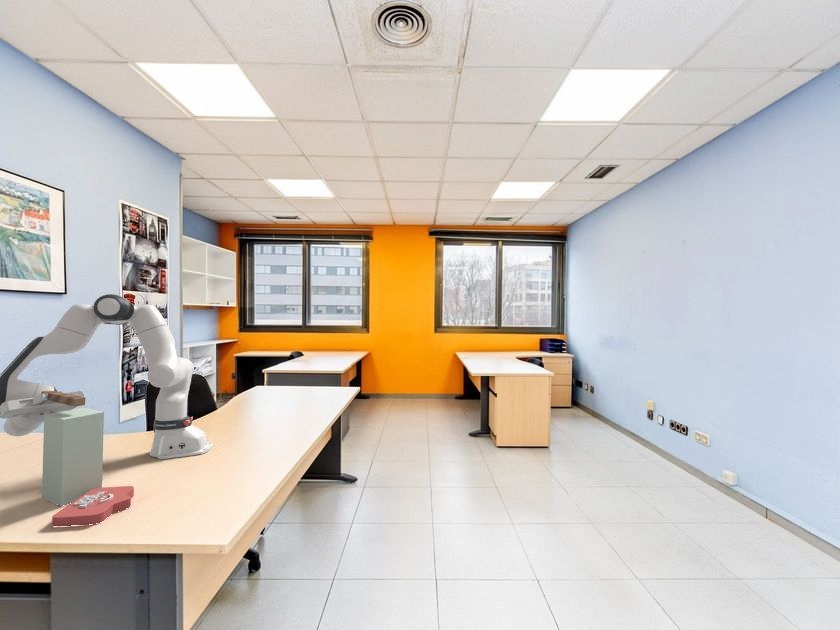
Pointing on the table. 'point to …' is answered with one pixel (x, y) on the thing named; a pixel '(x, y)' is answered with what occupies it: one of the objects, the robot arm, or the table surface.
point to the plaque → (94, 506)
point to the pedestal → (72, 454)
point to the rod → (65, 398)
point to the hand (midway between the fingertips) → (54, 394)
